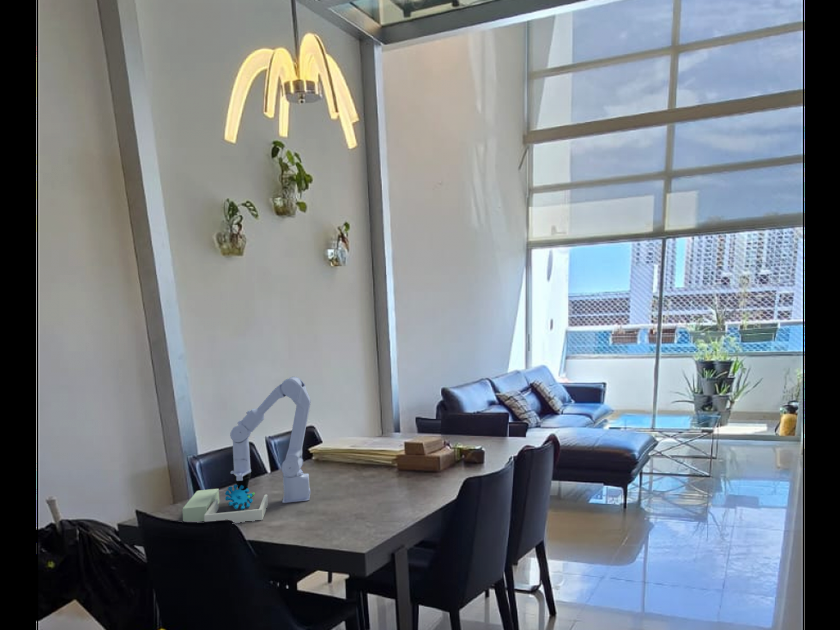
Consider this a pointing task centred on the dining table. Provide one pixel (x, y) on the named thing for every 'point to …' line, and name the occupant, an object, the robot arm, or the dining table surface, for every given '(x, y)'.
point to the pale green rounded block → (199, 504)
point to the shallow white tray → (236, 513)
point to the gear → (239, 497)
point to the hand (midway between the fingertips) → (243, 495)
